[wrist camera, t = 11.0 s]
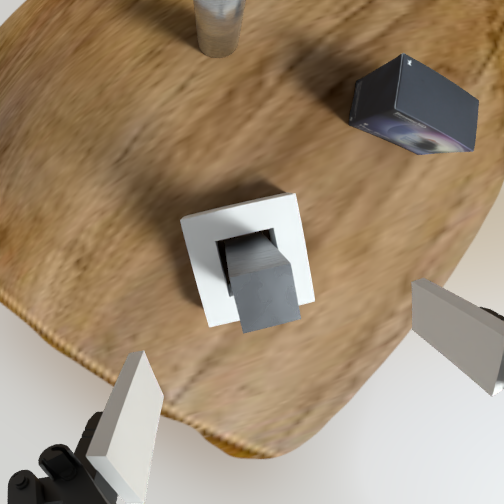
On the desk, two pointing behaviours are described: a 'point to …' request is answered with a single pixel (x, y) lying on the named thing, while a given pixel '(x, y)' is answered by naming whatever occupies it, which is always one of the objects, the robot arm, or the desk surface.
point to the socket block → (235, 224)
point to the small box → (415, 108)
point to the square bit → (261, 282)
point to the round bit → (218, 26)
